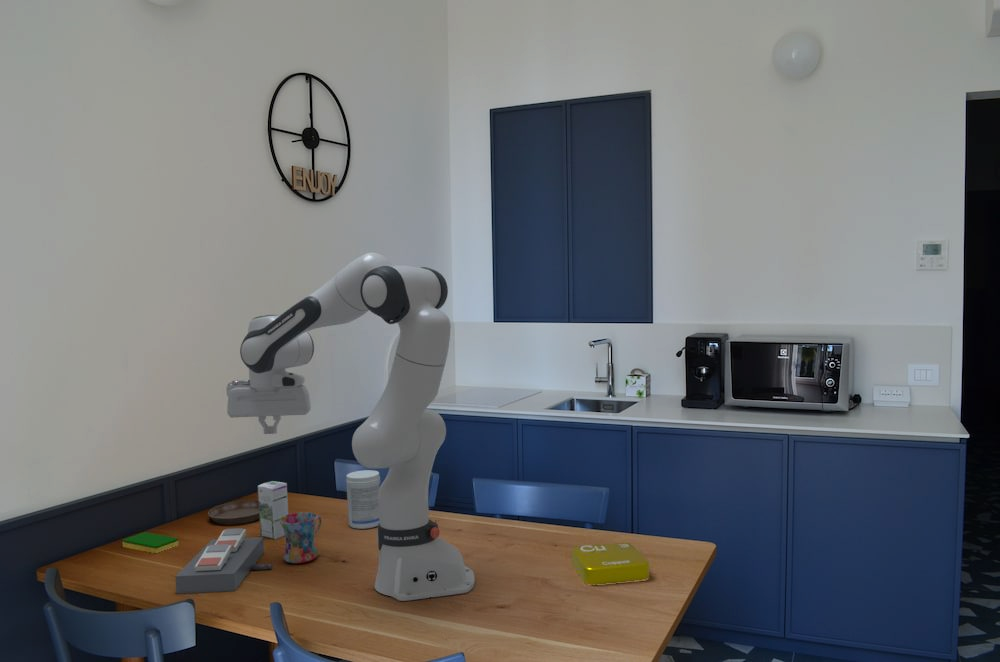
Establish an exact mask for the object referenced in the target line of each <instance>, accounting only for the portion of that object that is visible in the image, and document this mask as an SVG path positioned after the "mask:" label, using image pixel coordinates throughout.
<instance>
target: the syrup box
mask: <svg viewBox="0 0 1000 662" xmlns="http://www.w3.org/2000/svg"><path fill="white" fill-rule="evenodd" d="M257 495H258V500H259V515H260V519H259V526H260V529H259V530H260V537H263V538H266V539H272V540H277V539H281V538H283V537H285V533H284V530H283V527H282V525H281V523H280V518H282V517H283V516H286V515H289V501H288V483H287V482H282V481H281V482H280V481H274V480H271V481H267V482H264V483H261V484H259V485H257Z"/></svg>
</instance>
